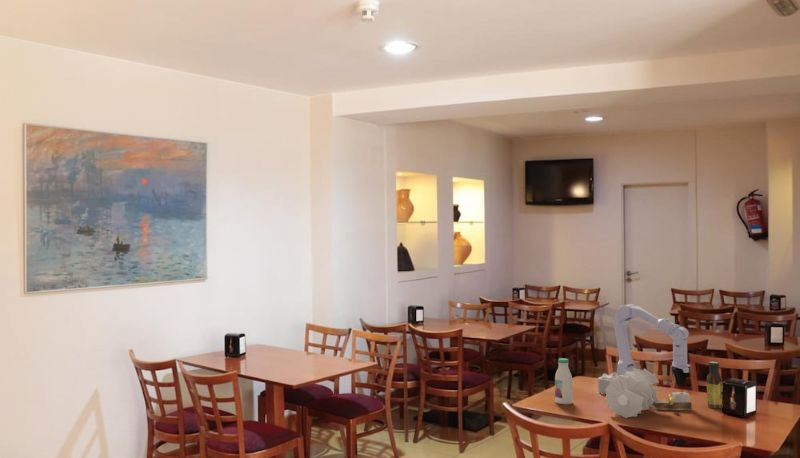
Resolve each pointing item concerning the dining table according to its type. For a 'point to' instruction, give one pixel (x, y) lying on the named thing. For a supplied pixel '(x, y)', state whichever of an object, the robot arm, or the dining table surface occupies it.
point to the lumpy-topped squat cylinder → (605, 382)
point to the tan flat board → (666, 406)
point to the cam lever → (670, 400)
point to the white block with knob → (681, 397)
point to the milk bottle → (563, 383)
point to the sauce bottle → (714, 386)
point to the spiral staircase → (631, 392)
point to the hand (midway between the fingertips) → (680, 385)
